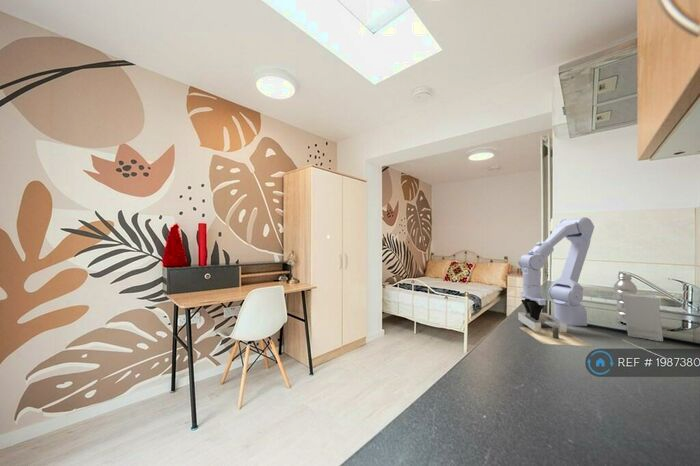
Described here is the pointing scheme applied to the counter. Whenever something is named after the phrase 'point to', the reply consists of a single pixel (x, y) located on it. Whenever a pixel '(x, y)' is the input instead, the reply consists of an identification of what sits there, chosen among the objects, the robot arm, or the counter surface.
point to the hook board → (550, 340)
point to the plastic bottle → (622, 287)
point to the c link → (544, 317)
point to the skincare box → (643, 316)
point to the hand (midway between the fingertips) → (533, 319)
